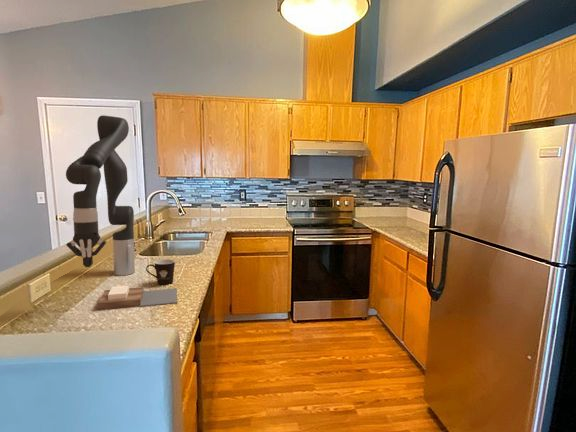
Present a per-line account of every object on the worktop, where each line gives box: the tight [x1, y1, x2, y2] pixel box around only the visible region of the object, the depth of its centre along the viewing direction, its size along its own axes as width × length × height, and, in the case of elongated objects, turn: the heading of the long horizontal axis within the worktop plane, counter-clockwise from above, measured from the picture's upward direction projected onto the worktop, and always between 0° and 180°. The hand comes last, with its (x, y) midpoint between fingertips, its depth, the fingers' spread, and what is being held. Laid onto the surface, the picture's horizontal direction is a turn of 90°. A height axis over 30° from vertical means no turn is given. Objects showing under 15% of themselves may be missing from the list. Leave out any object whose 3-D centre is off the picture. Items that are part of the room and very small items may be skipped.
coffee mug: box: [145, 258, 176, 287], centre depth 146 cm, size 12×9×10 cm
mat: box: [139, 287, 178, 308], centre depth 129 cm, size 16×13×1 cm
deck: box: [96, 286, 145, 311], centre depth 124 cm, size 14×14×2 cm
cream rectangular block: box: [108, 285, 130, 300], centre depth 123 cm, size 9×6×2 cm, turn 20°
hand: (88, 266), depth 119 cm, fingers closed
